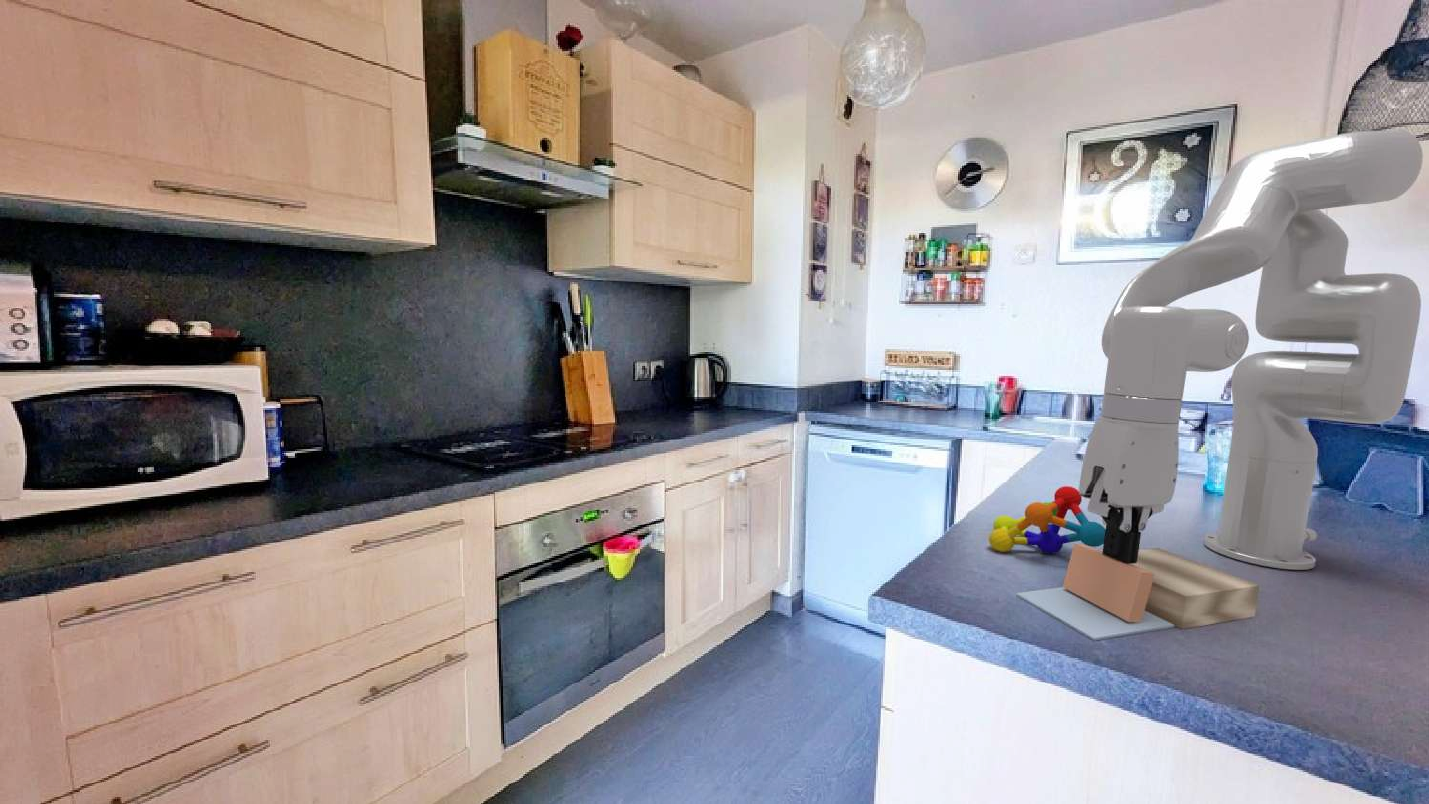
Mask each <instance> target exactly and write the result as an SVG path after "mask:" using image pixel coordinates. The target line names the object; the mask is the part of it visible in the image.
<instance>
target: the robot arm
mask: <svg viewBox="0 0 1429 804" xmlns="http://www.w3.org/2000/svg"><path fill="white" fill-rule="evenodd" d="M1423 157H1424V156H1423V150H1422V146H1421V143H1420V141H1419V139H1418V138H1417V137H1416V136H1415V135H1413V134H1412V133H1410V131H1407V130H1400V129H1392V130H1368V131H1366V130H1365V131H1356V132H1346V133H1341V134H1336V135H1332V136H1331V135H1330V136H1325V137H1320V138H1316V139H1311V140H1305V141H1301V142H1295V143H1291V144H1286V145H1280V146H1275V147H1271V148H1267V149H1263V150H1259V151H1257V152H1254V153H1250V154H1249V155H1248V154H1247V155H1246V156H1245V157H1243V158H1241V159H1239V160H1238V161H1236V162H1235V163H1234V164H1233V165H1232V166H1231V167H1230V168H1229V170H1228V171H1227V173H1226V174H1225V176H1224V177H1223V180H1222V181H1221V183H1220V185H1219V187H1218V188H1217V190H1216V192H1215V194H1214V196H1213V198H1212V200H1211V202H1210V204H1209V206H1208V208H1207V209H1206V211H1205V214H1204V215H1203V217H1202V219H1201V220H1200V222H1199V224H1198V225H1197V228H1196V230H1195V232H1194V234H1193V236H1192V238H1191V239H1190V240H1189V241H1186V242H1185V243H1183V244H1181V245H1180V246H1178V247H1176V248H1174V249H1173V250H1171V251H1169V252H1168V253H1166V254H1165V255H1163V256H1162V257H1160V258H1158V260H1156V261H1155V262H1153V263H1152V264H1150V265H1149V266H1148V267H1146V268H1145V269H1143V270H1142V271H1140V272H1139V273H1138V274H1137V275H1136V276H1135V277H1133V278H1132V279H1131V280H1130V281H1129V282H1128V283H1127V285H1126V286H1125V287H1124V289H1123V290H1122V291H1121V294H1120V295H1119V296H1118V298H1117V300H1116V302H1115V304H1114V306H1113V308H1112V309H1111V311H1110V313H1109V315H1108V318H1107V319H1106V322H1105V324H1104V326H1103V331H1102V335H1101V348H1102V352H1103V354H1104V355H1105V357H1106V359H1107V366H1106V373H1105V374H1106V375H1105V379H1104V380H1105V382H1104V388H1103V396H1102V404H1101V411H1100V416H1099V417H1100V418H1099V419H1096V420H1095V422H1094V424H1093V427H1092V429H1091V431H1090V432H1091V433H1090V434H1089V438H1088V442H1087V445H1086V447H1085V451H1084V452H1085V453H1084V456H1083V462H1082V466H1081V472H1080V477H1079V484H1078V491H1079V493H1080V495H1081V497H1083V498H1085V499H1089V501H1088V504H1087V505H1088V506H1087V512H1089V513H1092V514H1096V515H1098V516H1100V517H1101V518H1102V524H1103V526H1105V529H1106V530H1105V537H1104V544H1102V545H1103V546H1102V552H1103V554H1104V555H1107V556H1109V557H1111V558H1114V559H1116V560H1118V561H1121V562H1123V563H1125V564H1129V563H1131V564H1132V563H1136V562H1137V558H1138V551H1139V550H1140V543H1141V537H1142V532H1144V531H1145V530H1146V527H1147V524H1148V521H1149V519H1150V518H1151V517H1152V516H1153V515H1156V514H1159V513H1162V512H1163V511H1164V510H1165V505H1167V504H1169V503H1170V502H1171V501H1172V499H1173V498H1174V494H1175V490H1176V484H1177V478H1178V471H1179V470H1178V468H1179V457H1180V456H1179V455H1180V453H1179V452H1180V450H1179V449H1180V448H1179V447H1180V441H1179V440H1180V439H1179V425H1180V419H1181V413H1182V404H1183V398H1184V392H1185V383H1186V377H1187V372H1198V373H1204V372H1205V373H1212V372H1218V371H1222V370H1226V369H1228V368H1230V367H1233V365H1235V364H1236V363H1237V364H1236V365H1235V367H1234V368H1233V371H1232V374H1231V396H1232V407H1233V408H1232V410H1233V411H1232V413H1233V415H1232V418H1233V419H1232V432H1231V440H1230V441H1231V442H1230V447H1229V453H1228V454H1229V455H1228V461H1227V467H1226V475H1225V483H1224V489H1223V496H1222V505H1221V511H1220V517H1219V518H1220V519H1219V526H1218V532H1211V533H1207V534H1206V535H1205V536H1204V538H1203V544H1204V545H1205V546H1206V547H1207V548H1208V549H1210V550H1212V551H1214V552H1216V553H1218V554H1221V555H1223V556H1226V557H1228V558H1231V559H1235V560H1238V561H1242V562H1243V563H1249V564H1253V565H1258V566H1263V567H1268V568H1273V569H1281V570H1290V571H1291V570H1292V571H1293V570H1295V571H1303V570H1305V571H1307V570H1311V569H1313V568H1315V566H1316V561H1317V560H1316V557H1314V556H1313V555H1312V554H1311V553H1309V552H1307V551H1306V550H1304V549H1303V546H1304V543H1305V542H1311V541H1315V540H1316V539H1317V537H1318V534H1317V532H1316V531H1315V530H1314V529H1312V528H1307V522H1308V516H1309V511H1310V504H1311V497H1312V493H1313V492H1312V491H1313V486H1314V479H1315V473H1316V467H1317V463H1318V462H1317V461H1318V455H1319V453H1318V452H1319V451H1318V450H1319V448H1318V443H1316V440H1315V438H1314V436H1313V435H1312V433H1311V432H1310V431H1309V429H1308V428H1307V427H1306V426H1305V425H1304V422H1302V421H1301V419H1315V420H1323V421H1324V420H1325V421H1333V422H1335V421H1336V422H1342V423H1343V422H1344V423H1354V424H1366V425H1368V424H1369V425H1372V424H1373V425H1374V424H1382V423H1385V422H1389V421H1390V420H1392V419H1394V418H1395V417H1396V416H1397V415H1398V414H1399V412H1400V410H1401V407H1402V406H1403V404H1404V400H1405V398H1406V393H1407V389H1408V384H1409V380H1410V379H1409V377H1410V374H1411V373H1410V372H1411V367H1412V361H1413V358H1414V357H1413V356H1414V352H1415V351H1414V350H1415V345H1416V340H1417V335H1418V329H1419V324H1420V319H1421V318H1420V317H1421V308H1422V304H1421V303H1422V300H1421V293H1420V290H1419V287H1418V285H1417V284H1416V282H1415V281H1414V280H1413V279H1411V278H1410V277H1408V276H1406V275H1402V274H1398V273H1389V272H1388V273H1387V272H1386V273H1385V272H1383V273H1381V272H1379V273H1362V274H1361V273H1360V274H1358V273H1357V274H1346V271H1345V269H1346V261H1347V255H1348V250H1349V244H1350V243H1349V238H1348V235H1347V234H1346V232H1345V231H1344V230H1343V229H1342V228H1341V226H1340V225H1339V224H1338V223H1337V222H1336V221H1335V220H1333V218H1331V217H1329V215H1327V214H1326V213H1324V212H1323V211H1322V210H1324V209H1332V208H1340V207H1350V206H1356V205H1357V206H1358V205H1359V206H1360V205H1371V204H1377V203H1382V202H1390V201H1393V200H1396V199H1397V198H1399V197H1401V196H1402V195H1404V194H1405V193H1406V192H1408V190H1409V189H1410V188H1411V187H1412V186H1413V185H1414V184H1415V183H1416V180H1417V179H1418V177H1419V174H1420V173H1421V170H1422V166H1423V160H1424V159H1423ZM1261 268H1262V270H1261V275H1260V282H1259V288H1258V289H1259V290H1258V296H1257V302H1256V308H1255V329H1256V331H1257V333H1258V334H1259V336H1260V337H1262V338H1265V339H1267V340H1271V341H1274V342H1275V341H1276V342H1286V343H1311V344H1312V343H1313V344H1314V343H1315V344H1316V343H1317V344H1345V345H1347V344H1348V345H1354V346H1356V348H1357V350H1358V353H1338V352H1335V353H1334V352H1320V351H1291V350H1288V351H1287V350H1271V351H1270V350H1268V351H1262V352H1261V351H1259V352H1256V353H1252V354H1250V355H1247V356H1245V357H1244V358H1243V356H1244V354H1245V353H1246V351H1247V349H1248V346H1249V341H1250V340H1249V339H1250V337H1249V330H1248V327H1247V325H1246V323H1245V322H1244V321H1243V319H1242V318H1240V316H1238V315H1237V314H1234V313H1233V312H1231V311H1228V310H1223V309H1215V308H1196V309H1195V308H1191V309H1189V308H1188V309H1186V308H1184V307H1180V306H1178V307H1177V306H1169V305H1170V304H1172V303H1173V302H1176V301H1177V300H1179V299H1182V298H1184V297H1186V296H1189V295H1192V294H1194V293H1197V292H1200V291H1203V290H1207V289H1209V288H1210V289H1211V288H1213V287H1217V286H1220V285H1222V284H1225V283H1228V282H1231V281H1234V280H1237V279H1239V278H1242V277H1245V276H1247V275H1250V274H1252V273H1254V272H1257V271H1259V270H1260V269H1261ZM1300 418H1301V419H1300Z"/></svg>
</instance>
